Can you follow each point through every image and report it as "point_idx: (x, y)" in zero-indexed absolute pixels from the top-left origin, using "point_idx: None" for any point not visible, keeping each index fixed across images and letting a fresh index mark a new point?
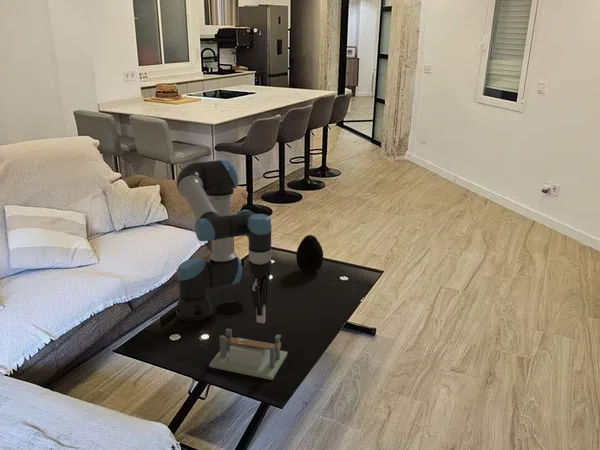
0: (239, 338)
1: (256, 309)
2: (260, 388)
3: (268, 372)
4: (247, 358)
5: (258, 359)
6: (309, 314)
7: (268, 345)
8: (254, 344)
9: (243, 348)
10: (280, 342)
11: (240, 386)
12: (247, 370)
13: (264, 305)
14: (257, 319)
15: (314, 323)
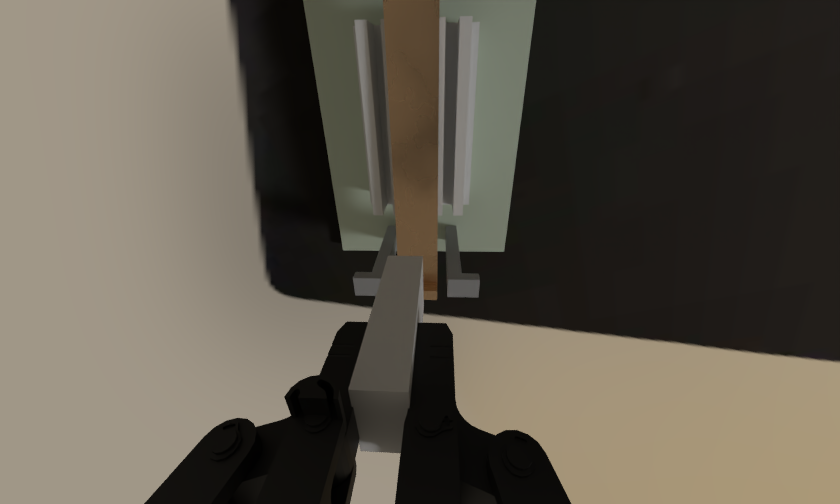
0: (438, 52)
1: (362, 344)
2: (290, 224)
3: (359, 230)
4: (365, 141)
5: (370, 196)
6: (837, 242)
7: (415, 244)
8: (402, 175)
9: (387, 109)
10: (431, 299)
11: (262, 156)
12: (336, 152)
13: (399, 449)
14: (383, 277)
15: (743, 277)
